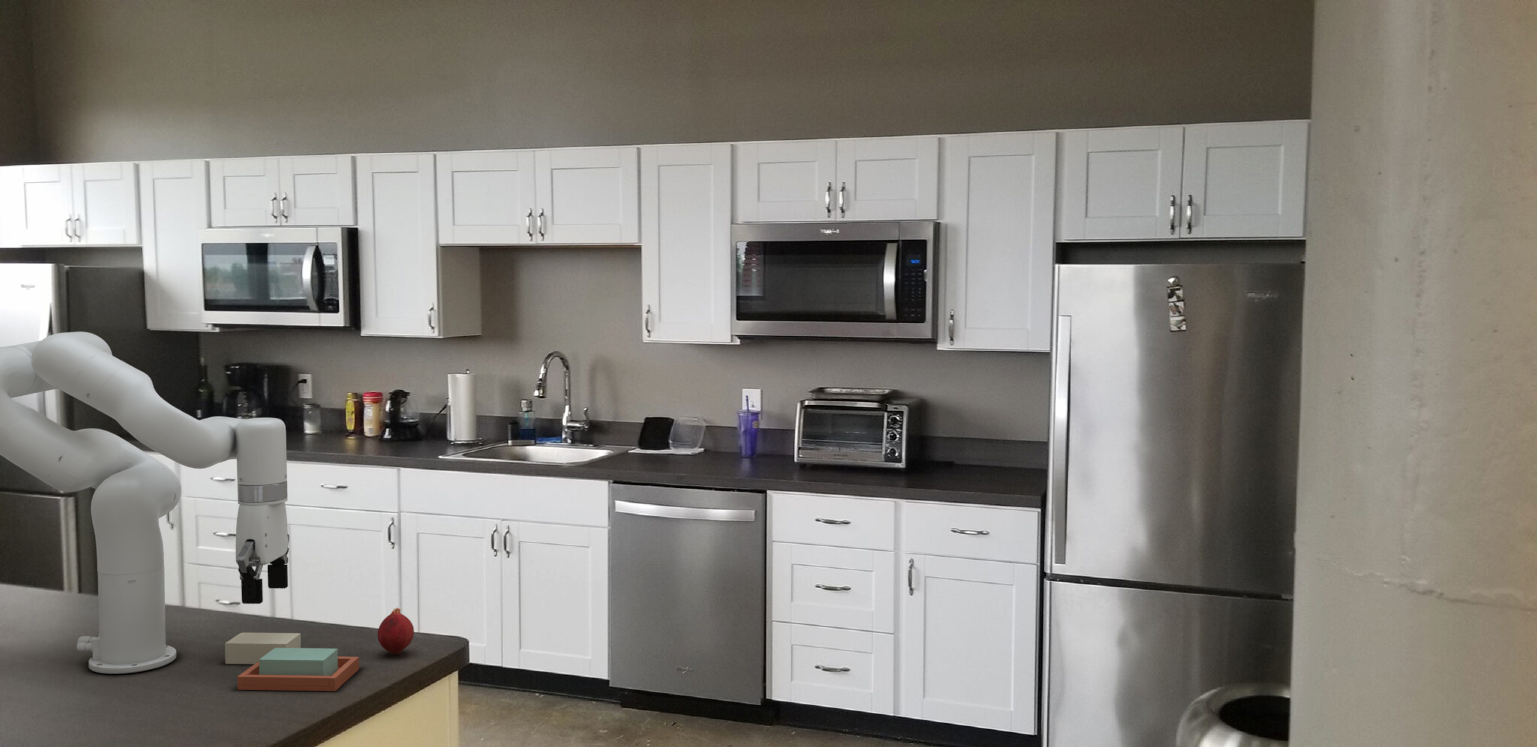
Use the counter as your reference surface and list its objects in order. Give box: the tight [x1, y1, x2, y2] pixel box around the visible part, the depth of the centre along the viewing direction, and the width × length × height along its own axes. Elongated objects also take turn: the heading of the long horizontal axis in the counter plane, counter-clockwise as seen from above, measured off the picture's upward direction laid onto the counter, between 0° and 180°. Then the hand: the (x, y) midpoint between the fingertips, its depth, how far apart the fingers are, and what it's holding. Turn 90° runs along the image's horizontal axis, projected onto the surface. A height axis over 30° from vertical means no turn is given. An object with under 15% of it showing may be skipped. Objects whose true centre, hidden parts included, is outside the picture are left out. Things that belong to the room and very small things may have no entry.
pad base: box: [259, 647, 339, 676], centre depth 183 cm, size 10×6×4 cm, turn 90°
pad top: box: [224, 632, 302, 665], centre depth 192 cm, size 10×6×4 cm, turn 90°
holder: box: [236, 655, 360, 692], centre depth 183 cm, size 15×10×2 cm
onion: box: [376, 607, 415, 656], centre depth 195 cm, size 6×6×8 cm
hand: (265, 595), depth 192 cm, fingers open, 9 cm apart
